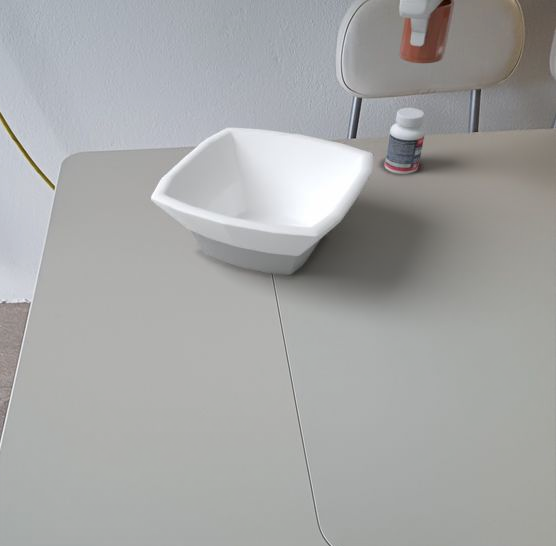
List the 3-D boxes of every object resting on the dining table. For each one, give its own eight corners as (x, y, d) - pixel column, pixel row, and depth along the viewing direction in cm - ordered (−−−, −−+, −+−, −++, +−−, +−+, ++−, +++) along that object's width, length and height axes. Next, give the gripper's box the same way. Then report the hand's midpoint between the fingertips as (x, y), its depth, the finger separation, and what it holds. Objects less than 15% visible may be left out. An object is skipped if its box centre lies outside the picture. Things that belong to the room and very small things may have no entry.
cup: (421, 45, 94) (430, -8, 89) (452, 57, 90) (464, 2, 85) (390, 54, 92) (398, 0, 87) (421, 66, 88) (431, 10, 83)
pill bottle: (416, 177, 101) (427, 121, 95) (382, 173, 102) (390, 118, 96) (419, 161, 104) (429, 107, 98) (386, 158, 106) (394, 104, 100)
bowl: (376, 215, 93) (387, 148, 86) (316, 317, 77) (323, 245, 70) (225, 183, 102) (224, 120, 95) (142, 269, 86) (133, 200, 79)
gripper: (452, -65, 72) (428, 63, 81) (489, -97, 85) (465, 17, 94) (396, -68, 74) (379, 57, 84) (441, -99, 87) (421, 13, 97)
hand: (425, 35), depth 89 cm, fingers closed on cup, 6 cm apart
